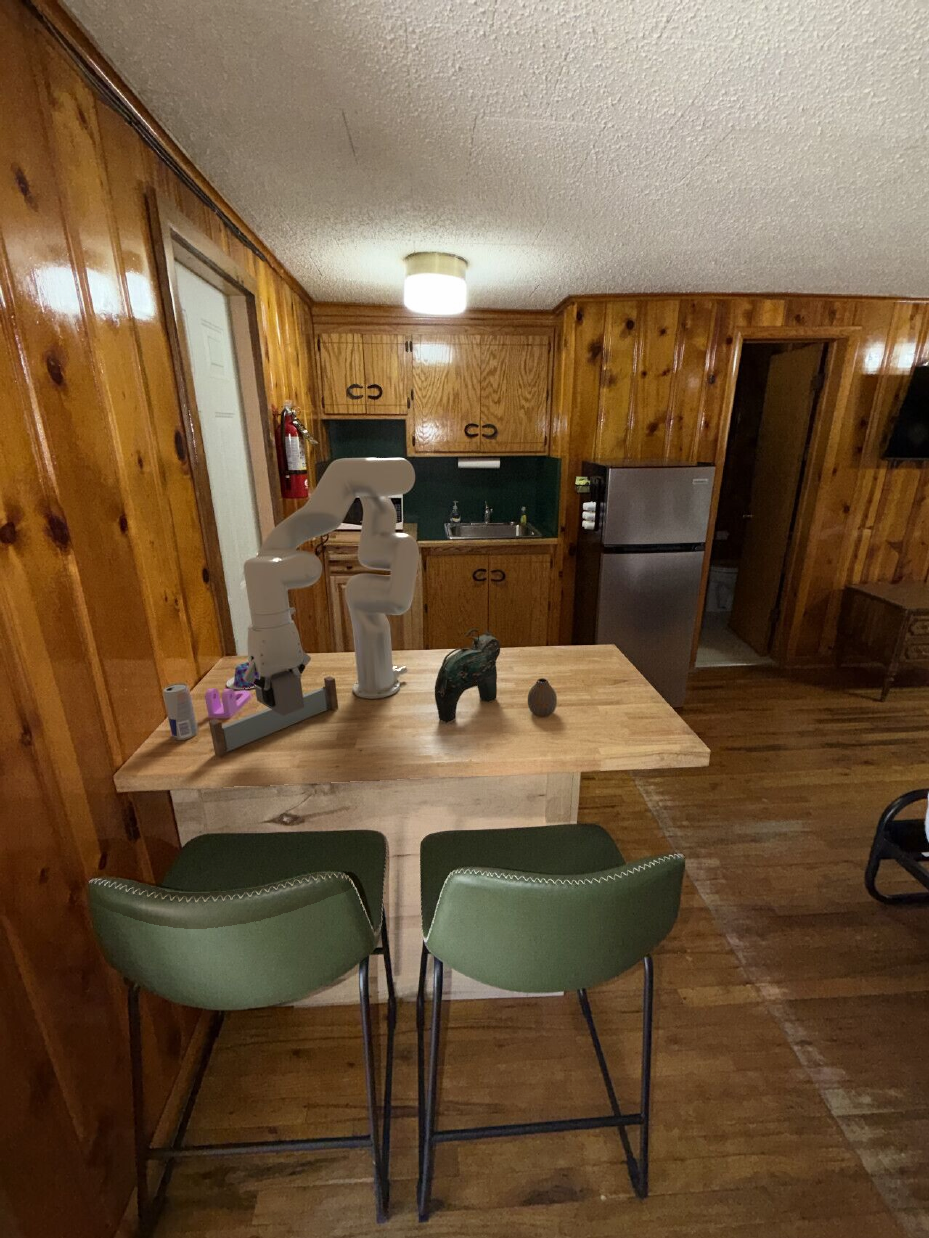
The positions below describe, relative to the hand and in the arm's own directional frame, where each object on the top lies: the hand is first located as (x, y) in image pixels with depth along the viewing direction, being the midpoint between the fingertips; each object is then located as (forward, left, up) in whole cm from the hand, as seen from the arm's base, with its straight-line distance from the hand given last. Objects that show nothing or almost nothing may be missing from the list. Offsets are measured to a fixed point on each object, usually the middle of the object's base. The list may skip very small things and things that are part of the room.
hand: (282, 699), depth 114 cm
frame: (-3, -9, -12) cm, 15 cm away
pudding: (-11, -42, -12) cm, 45 cm away
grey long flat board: (-3, -9, -12) cm, 15 cm away
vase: (-48, +33, -12) cm, 59 cm away
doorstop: (0, -1, -2) cm, 2 cm away
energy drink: (+13, -24, -12) cm, 30 cm away
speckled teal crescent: (-39, +18, -12) cm, 45 cm away
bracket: (-1, -30, -12) cm, 33 cm away
